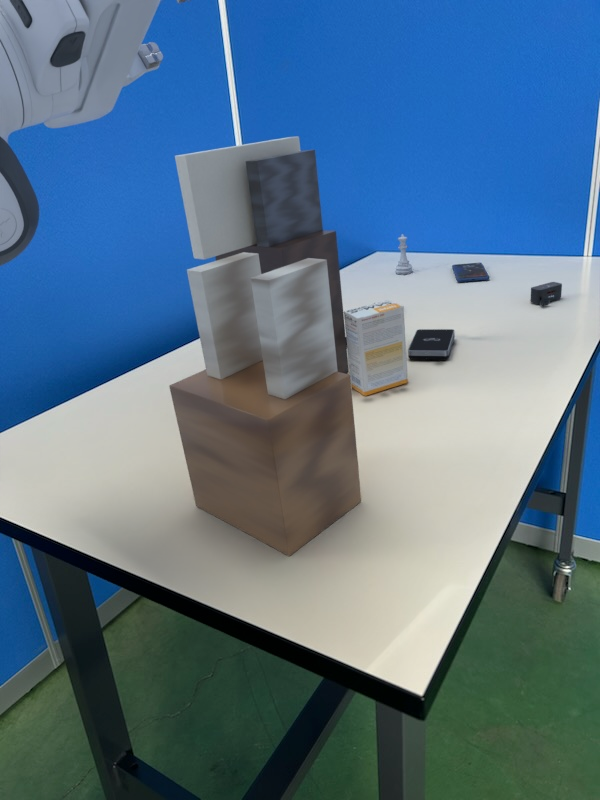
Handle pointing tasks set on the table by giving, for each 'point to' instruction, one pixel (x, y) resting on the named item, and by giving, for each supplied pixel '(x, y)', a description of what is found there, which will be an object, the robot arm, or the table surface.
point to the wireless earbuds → (546, 293)
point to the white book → (223, 195)
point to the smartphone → (470, 272)
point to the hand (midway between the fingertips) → (174, 21)
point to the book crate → (268, 402)
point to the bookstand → (294, 226)
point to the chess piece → (403, 259)
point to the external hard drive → (431, 344)
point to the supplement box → (376, 346)
